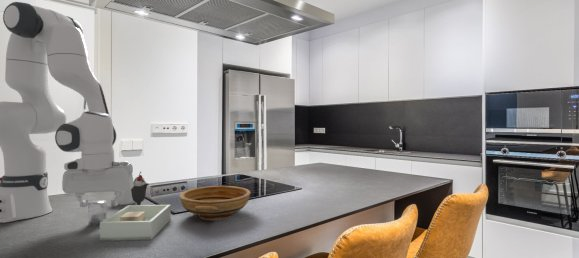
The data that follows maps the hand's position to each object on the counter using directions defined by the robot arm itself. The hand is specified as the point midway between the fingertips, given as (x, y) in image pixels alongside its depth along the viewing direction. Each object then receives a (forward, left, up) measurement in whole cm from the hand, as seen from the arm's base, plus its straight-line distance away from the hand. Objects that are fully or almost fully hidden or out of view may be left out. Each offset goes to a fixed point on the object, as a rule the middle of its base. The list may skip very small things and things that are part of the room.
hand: (99, 205), depth 98 cm
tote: (+14, -6, -6) cm, 16 cm away
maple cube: (+14, -10, -5) cm, 18 cm away
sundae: (+7, +12, -6) cm, 16 cm away
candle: (-3, +26, -6) cm, 27 cm away
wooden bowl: (+35, +7, -6) cm, 37 cm away
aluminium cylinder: (-1, 0, -6) cm, 6 cm away
